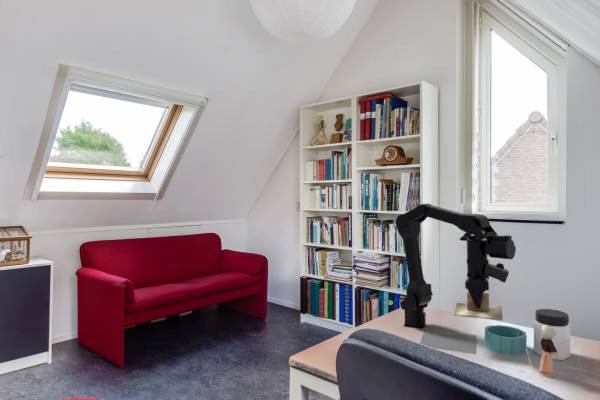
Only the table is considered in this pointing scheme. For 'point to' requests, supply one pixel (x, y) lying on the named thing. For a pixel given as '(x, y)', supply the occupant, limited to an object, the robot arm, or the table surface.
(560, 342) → the jar
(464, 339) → the mat
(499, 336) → the bowl
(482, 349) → the table surface
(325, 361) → the table surface
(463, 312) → the cover board
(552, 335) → the grandmother figurine
